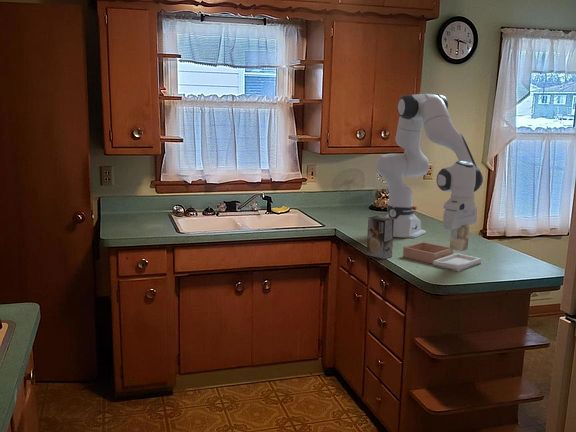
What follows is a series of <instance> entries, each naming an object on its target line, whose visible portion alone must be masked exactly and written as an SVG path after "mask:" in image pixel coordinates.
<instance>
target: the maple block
mask: <svg viewBox="0 0 576 432" xmlns="http://www.w3.org/2000/svg"><path fill="white" fill-rule="evenodd" d="M469 233H470V225H469V224H467V225H463V226H461V228H458V231H457V234H458V239H453V238H452V235H453V234H452V232H451V231H450V239H449V240H450V241H449V247H450V249H452V250H453V251H458V252H463V251H464V252H465V251H466V250H468V249H469V247H468V246H469V238H470V237H469V236H470V235H469Z"/></svg>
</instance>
